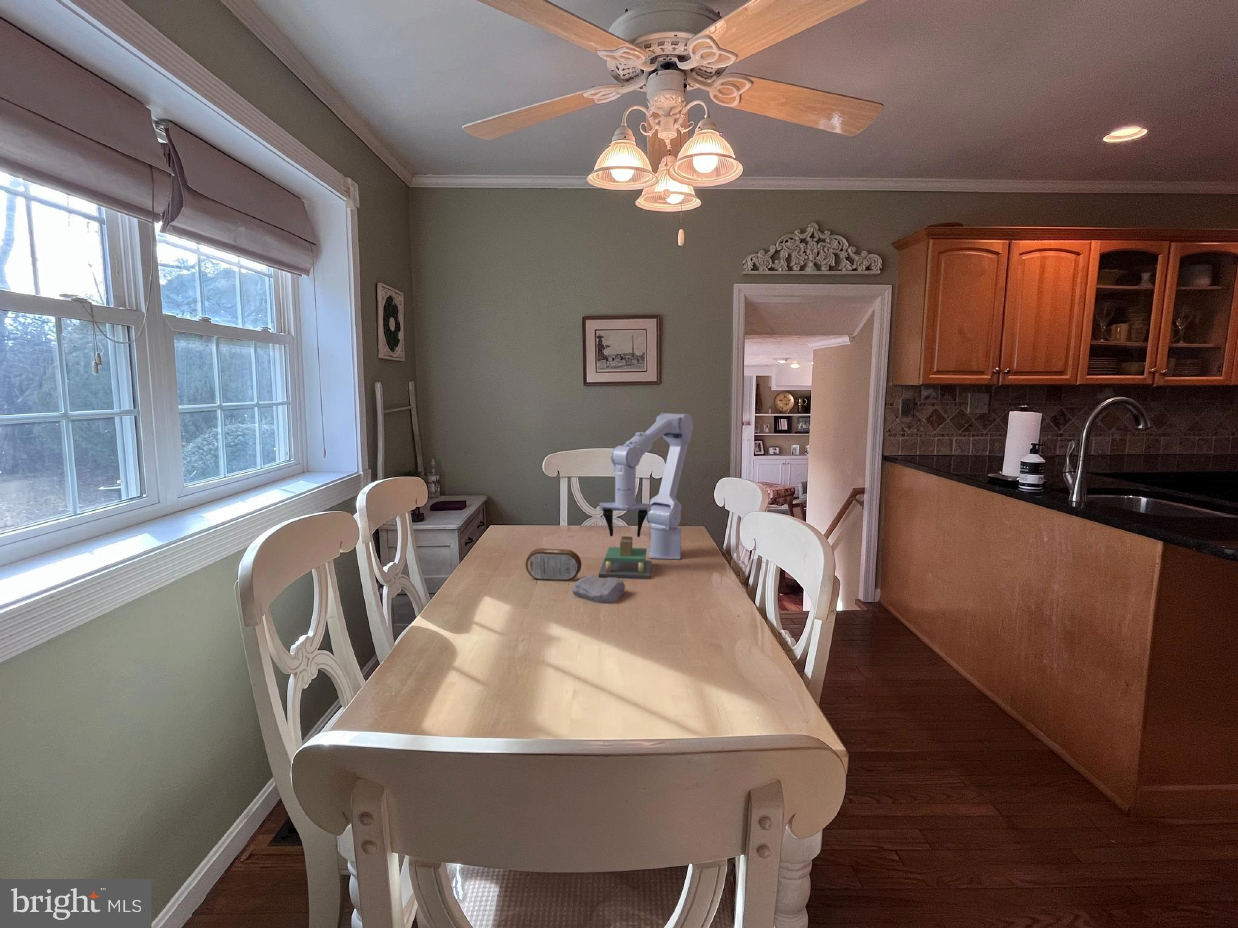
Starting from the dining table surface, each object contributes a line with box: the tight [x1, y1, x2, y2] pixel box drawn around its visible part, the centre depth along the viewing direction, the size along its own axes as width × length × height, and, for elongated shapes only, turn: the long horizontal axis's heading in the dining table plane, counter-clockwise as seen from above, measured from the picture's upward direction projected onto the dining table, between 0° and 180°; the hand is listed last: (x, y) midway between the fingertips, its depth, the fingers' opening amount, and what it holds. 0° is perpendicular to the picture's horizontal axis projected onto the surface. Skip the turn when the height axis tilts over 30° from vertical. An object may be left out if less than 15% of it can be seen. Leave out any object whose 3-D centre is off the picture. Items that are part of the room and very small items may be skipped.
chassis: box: [598, 558, 653, 580], centre depth 174 cm, size 14×14×4 cm
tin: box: [525, 547, 582, 582], centre depth 165 cm, size 15×3×8 cm, turn 84°
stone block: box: [572, 574, 626, 604], centre depth 154 cm, size 12×5×10 cm
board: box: [604, 535, 647, 563], centre depth 173 cm, size 11×11×5 cm
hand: (625, 535), depth 173 cm, fingers open, 7 cm apart
